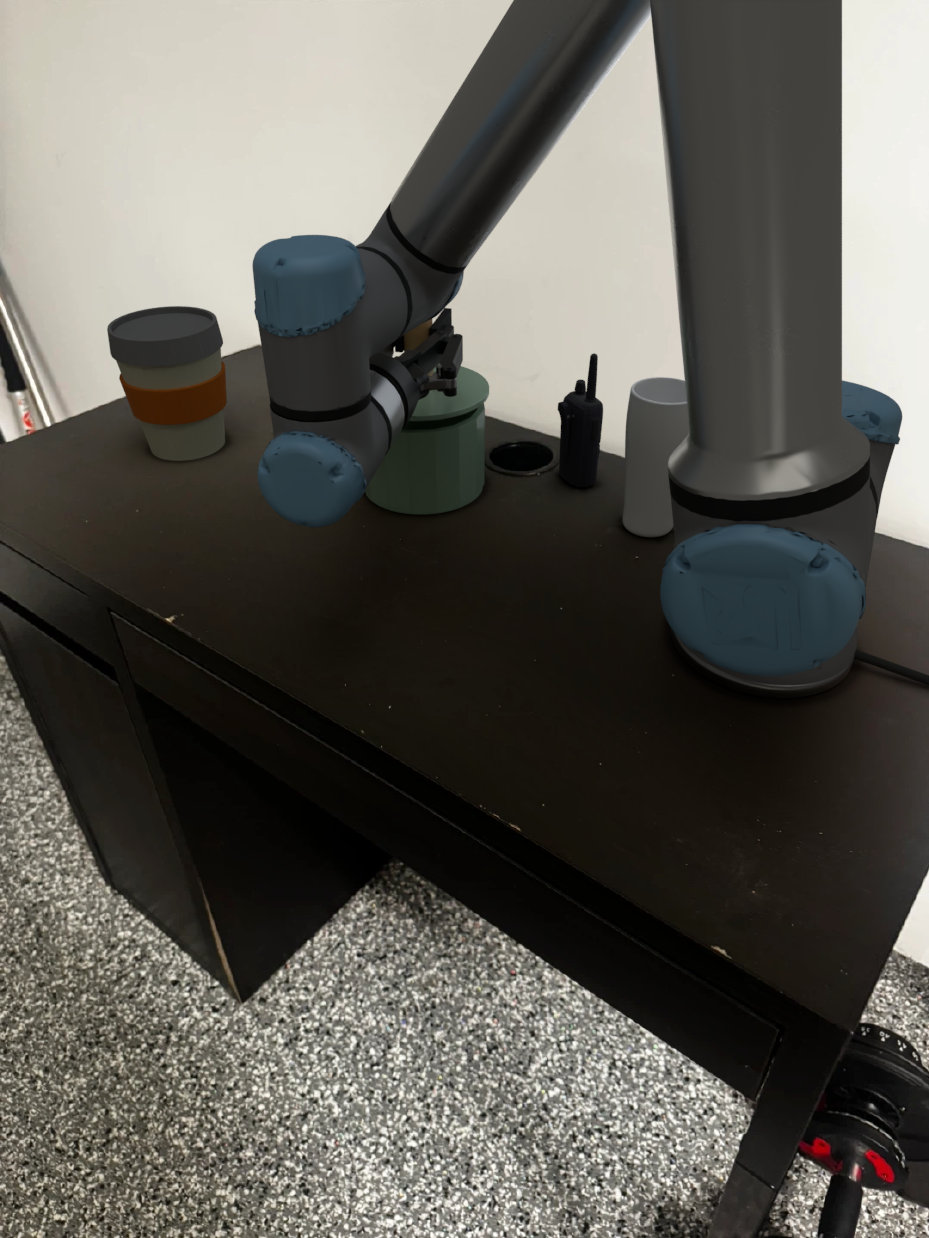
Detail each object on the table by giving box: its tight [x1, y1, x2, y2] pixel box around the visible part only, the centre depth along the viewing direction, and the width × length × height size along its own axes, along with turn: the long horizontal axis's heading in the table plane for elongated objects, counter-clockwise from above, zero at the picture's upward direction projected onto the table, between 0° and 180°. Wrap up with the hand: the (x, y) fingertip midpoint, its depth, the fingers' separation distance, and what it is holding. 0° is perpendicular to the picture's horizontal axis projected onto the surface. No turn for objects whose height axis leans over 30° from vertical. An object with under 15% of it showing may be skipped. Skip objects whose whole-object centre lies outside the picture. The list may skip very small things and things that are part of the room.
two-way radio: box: [557, 353, 604, 488], centre depth 97 cm, size 6×4×15 cm
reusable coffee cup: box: [106, 305, 228, 462], centre depth 105 cm, size 13×13×15 cm
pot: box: [364, 402, 486, 515], centre depth 98 cm, size 14×19×10 cm
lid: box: [403, 319, 490, 421], centre depth 92 cm, size 15×15×9 cm
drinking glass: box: [621, 376, 690, 538], centre depth 88 cm, size 7×7×15 cm
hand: (431, 320), depth 95 cm, fingers closed on lid, 3 cm apart
